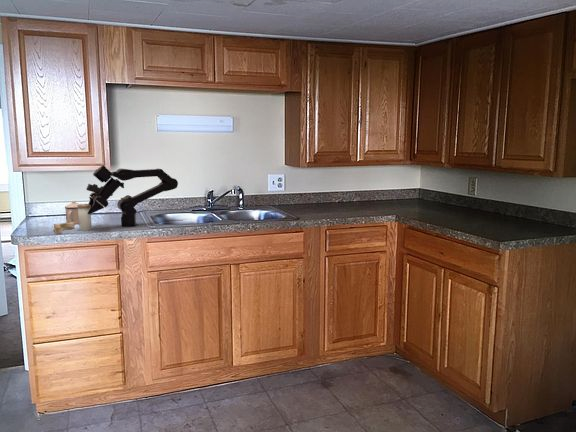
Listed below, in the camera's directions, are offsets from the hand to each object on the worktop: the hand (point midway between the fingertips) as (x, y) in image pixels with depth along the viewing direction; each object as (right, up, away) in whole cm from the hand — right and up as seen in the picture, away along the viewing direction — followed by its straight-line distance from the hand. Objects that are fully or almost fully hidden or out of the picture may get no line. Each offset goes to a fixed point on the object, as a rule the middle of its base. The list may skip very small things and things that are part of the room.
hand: (86, 212), depth 246 cm
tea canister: (-1, -8, +1) cm, 8 cm away
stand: (-9, -9, -4) cm, 13 cm away
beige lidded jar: (-13, -6, +18) cm, 23 cm away
